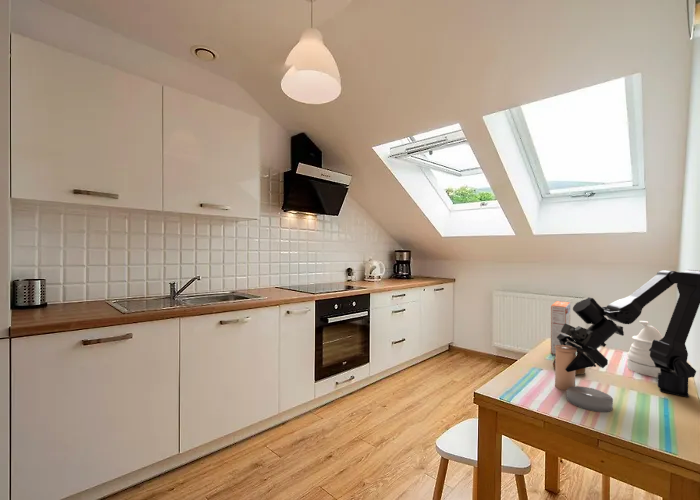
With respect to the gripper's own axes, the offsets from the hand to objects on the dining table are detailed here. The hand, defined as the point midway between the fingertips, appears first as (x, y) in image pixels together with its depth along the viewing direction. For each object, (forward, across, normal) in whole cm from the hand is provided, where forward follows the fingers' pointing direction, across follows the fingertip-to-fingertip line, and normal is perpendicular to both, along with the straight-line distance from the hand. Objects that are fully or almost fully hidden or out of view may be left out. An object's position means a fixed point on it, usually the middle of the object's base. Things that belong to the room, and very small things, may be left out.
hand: (560, 366), depth 110 cm
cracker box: (-10, -39, +19) cm, 45 cm away
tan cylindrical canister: (+4, 0, +6) cm, 7 cm away
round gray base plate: (+3, +11, +6) cm, 13 cm away
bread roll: (-3, -16, +13) cm, 21 cm away
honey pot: (-24, -18, +34) cm, 46 cm away
